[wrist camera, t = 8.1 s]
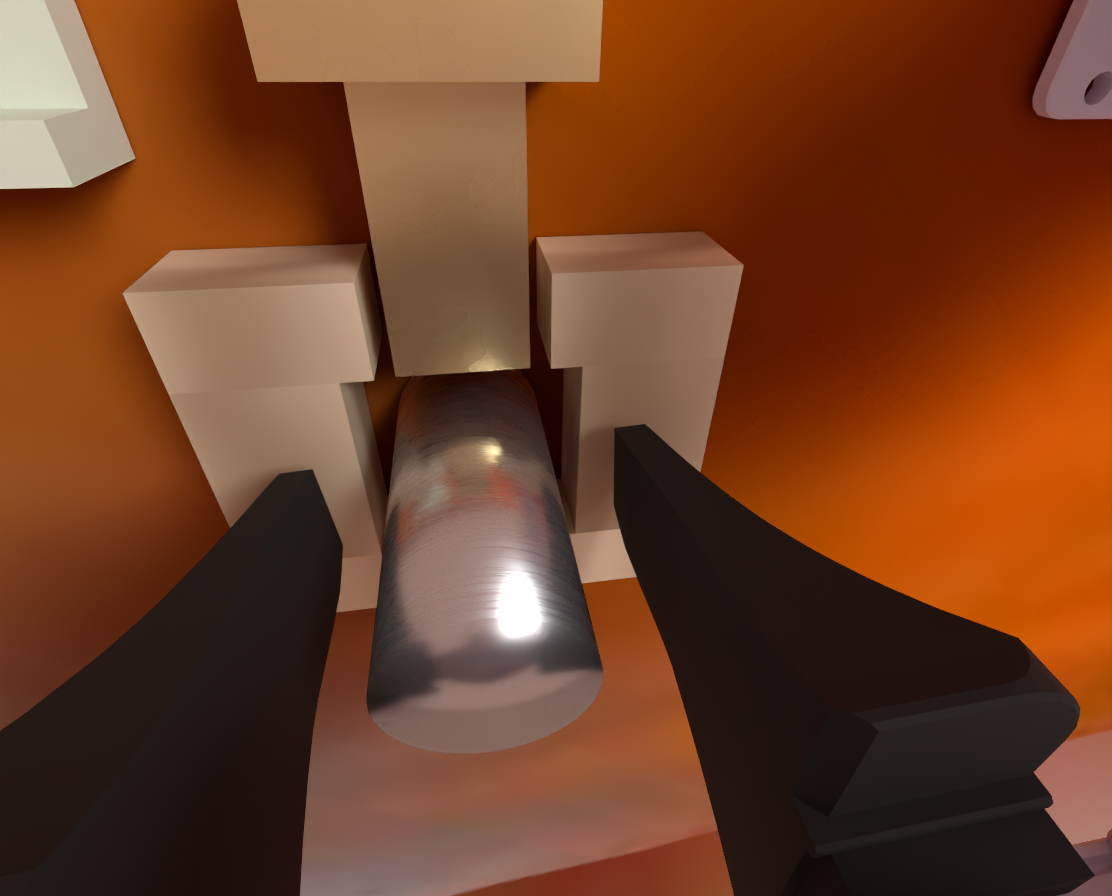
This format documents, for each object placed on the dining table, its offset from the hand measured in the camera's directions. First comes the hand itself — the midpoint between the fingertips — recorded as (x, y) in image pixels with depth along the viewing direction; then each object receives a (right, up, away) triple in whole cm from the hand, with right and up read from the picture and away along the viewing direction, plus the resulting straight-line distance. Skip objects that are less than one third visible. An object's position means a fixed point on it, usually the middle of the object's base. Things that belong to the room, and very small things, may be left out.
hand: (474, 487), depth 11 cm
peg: (0, +2, +2) cm, 3 cm away
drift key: (0, +6, -1) cm, 6 cm away
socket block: (0, +2, +2) cm, 3 cm away
